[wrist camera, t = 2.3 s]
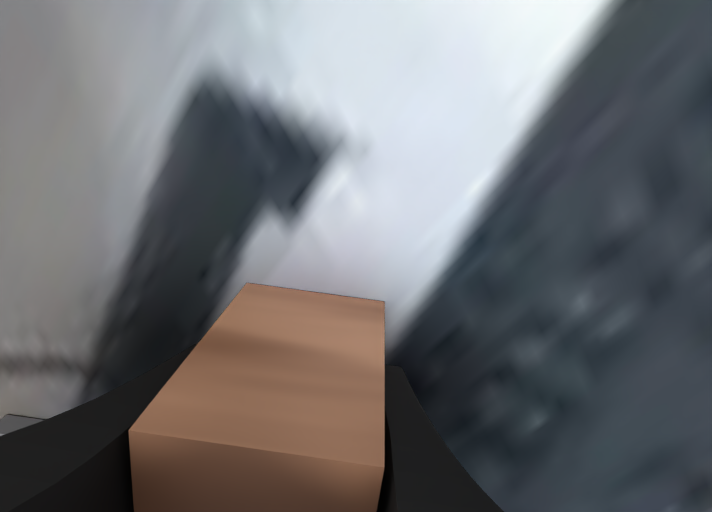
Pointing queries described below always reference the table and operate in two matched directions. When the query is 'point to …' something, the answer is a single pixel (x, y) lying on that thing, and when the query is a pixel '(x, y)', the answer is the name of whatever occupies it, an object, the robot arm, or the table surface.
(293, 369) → the tan wooden block
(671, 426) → the table surface
